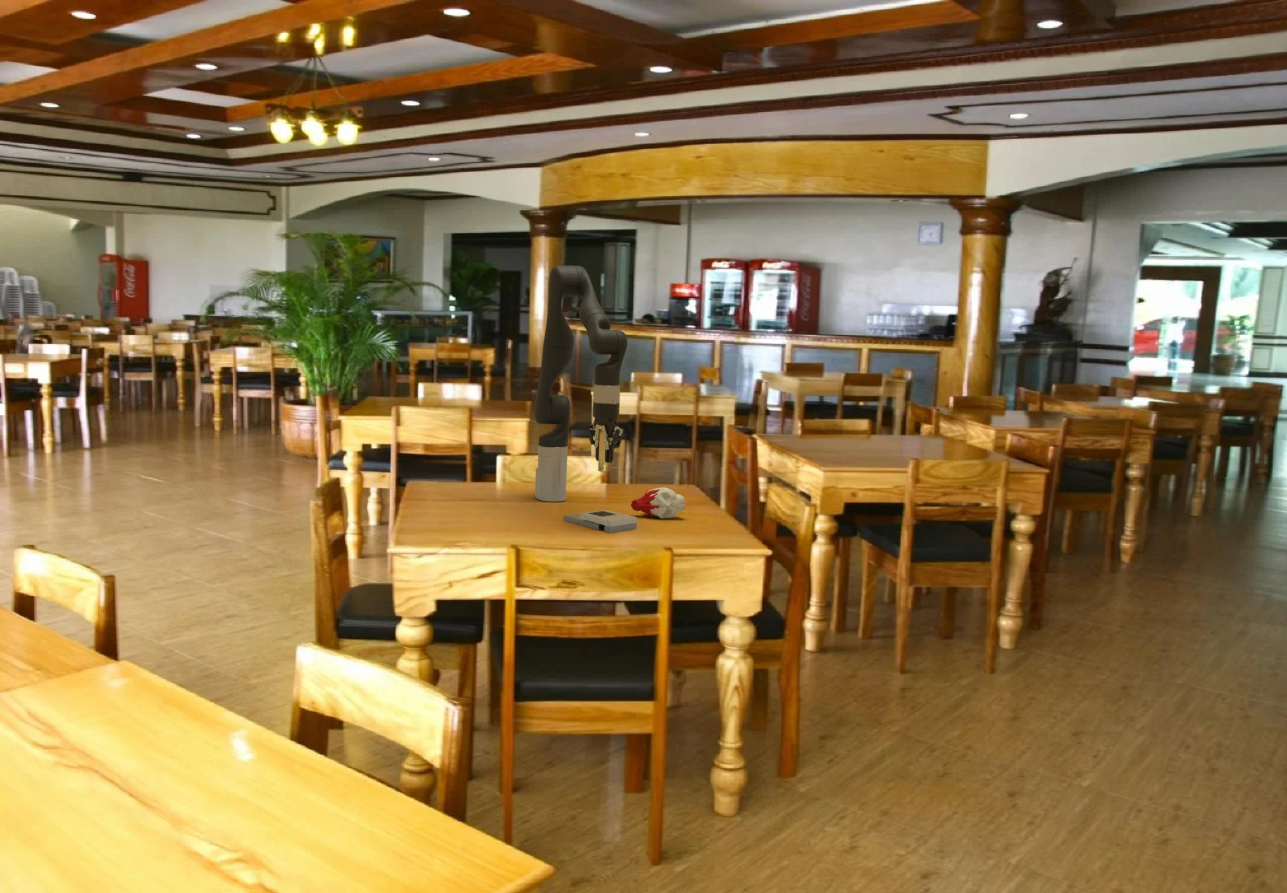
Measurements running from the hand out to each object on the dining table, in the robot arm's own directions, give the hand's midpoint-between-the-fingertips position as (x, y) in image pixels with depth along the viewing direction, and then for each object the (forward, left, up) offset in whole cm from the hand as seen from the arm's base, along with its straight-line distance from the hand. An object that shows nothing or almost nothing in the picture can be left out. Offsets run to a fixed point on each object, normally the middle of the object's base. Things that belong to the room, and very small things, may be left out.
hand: (604, 461), depth 304 cm
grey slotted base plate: (0, 0, -18) cm, 18 cm away
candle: (0, +22, -19) cm, 29 cm away
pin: (0, 0, -3) cm, 3 cm away
